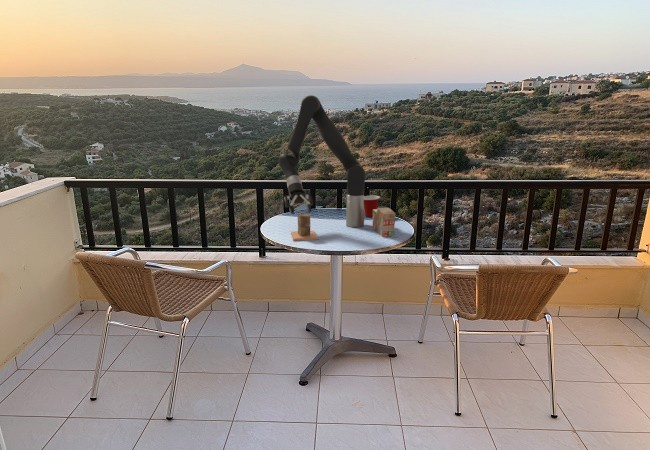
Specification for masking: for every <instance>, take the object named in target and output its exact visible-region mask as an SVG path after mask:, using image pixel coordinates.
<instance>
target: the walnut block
mask: <svg viewBox="0 0 650 450" xmlns="http://www.w3.org/2000/svg"><path fill="white" fill-rule="evenodd" d="M297 231H298V234H299V235H300V236H309V235H310V231H311V214H310V213H308V212H306V213H305V212H304V213H297Z"/></svg>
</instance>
